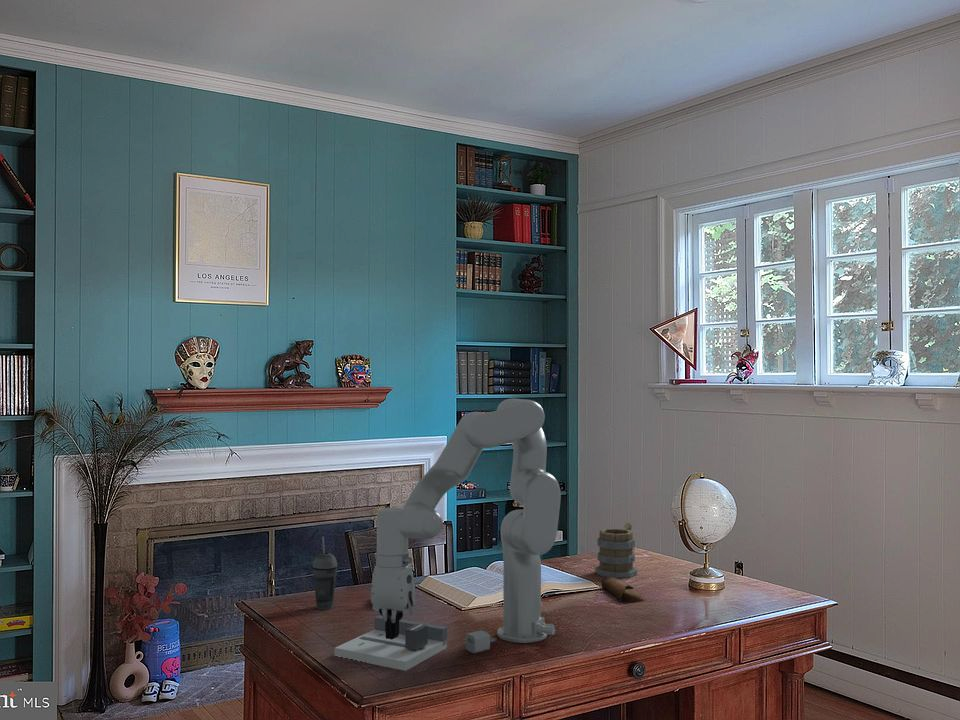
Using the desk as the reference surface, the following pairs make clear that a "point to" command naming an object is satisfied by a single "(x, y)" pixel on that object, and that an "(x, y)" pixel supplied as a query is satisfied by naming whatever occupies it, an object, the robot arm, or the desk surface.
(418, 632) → the fader knob
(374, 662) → the console
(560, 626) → the desk surface
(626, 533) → the tankard
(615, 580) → the sunglasses case
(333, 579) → the beverage cup
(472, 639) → the usb wall charger
